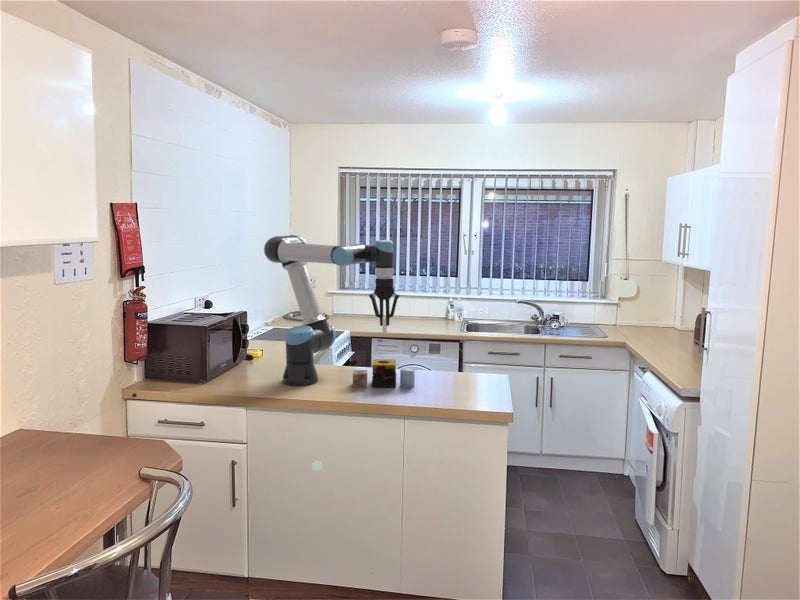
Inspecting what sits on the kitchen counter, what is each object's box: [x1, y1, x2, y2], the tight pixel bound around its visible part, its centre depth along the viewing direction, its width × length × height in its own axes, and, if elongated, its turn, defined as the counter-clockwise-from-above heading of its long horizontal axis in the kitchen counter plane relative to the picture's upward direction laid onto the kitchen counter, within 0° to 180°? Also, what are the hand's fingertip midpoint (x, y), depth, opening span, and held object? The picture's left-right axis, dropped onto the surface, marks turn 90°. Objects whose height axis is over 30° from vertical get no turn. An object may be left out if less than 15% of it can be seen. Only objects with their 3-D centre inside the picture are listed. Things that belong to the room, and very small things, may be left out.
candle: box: [371, 358, 397, 389], centre depth 255 cm, size 10×10×10 cm
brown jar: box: [352, 369, 368, 389], centre depth 253 cm, size 6×6×6 cm
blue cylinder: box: [399, 367, 416, 389], centre depth 253 cm, size 6×6×7 cm
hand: (384, 333), depth 252 cm, fingers closed
